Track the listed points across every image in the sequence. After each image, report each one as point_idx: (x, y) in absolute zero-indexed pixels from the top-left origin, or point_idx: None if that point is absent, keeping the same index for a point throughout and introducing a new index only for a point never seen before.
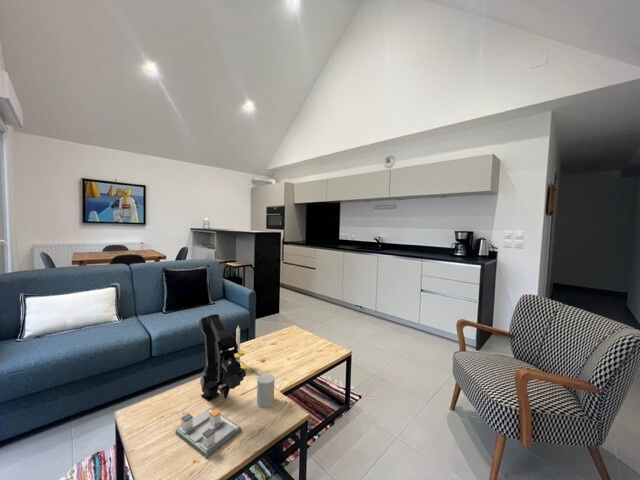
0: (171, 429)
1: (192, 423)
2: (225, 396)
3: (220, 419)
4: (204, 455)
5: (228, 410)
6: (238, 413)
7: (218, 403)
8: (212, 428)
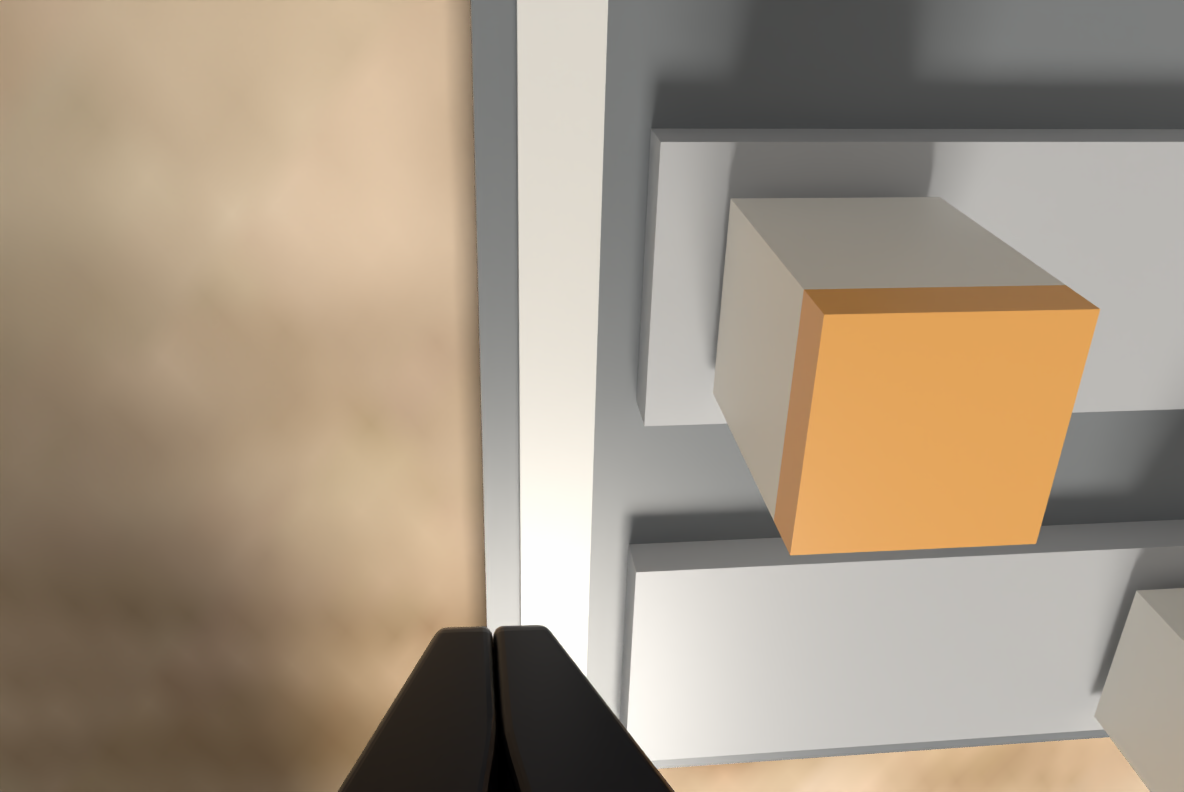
0: (1141, 788)
1: (1173, 626)
2: (546, 745)
3: (658, 267)
4: None
5: (187, 463)
6: (44, 161)
7: (222, 786)
8: (1015, 157)
